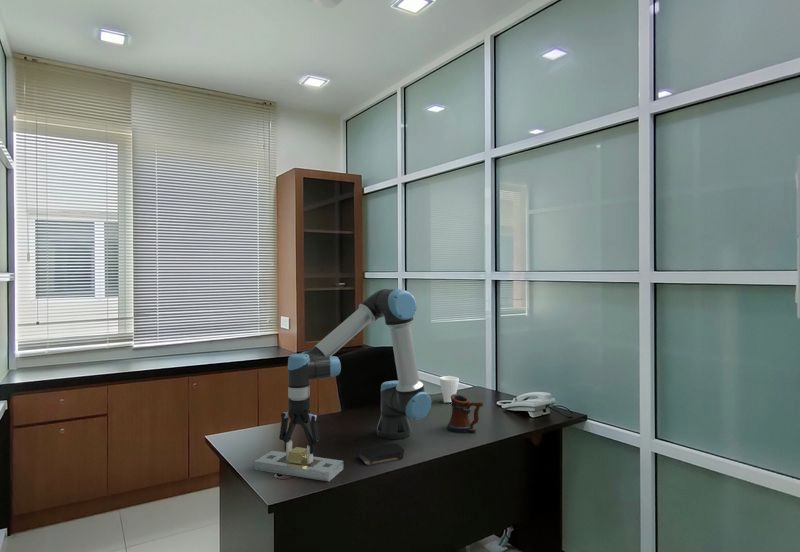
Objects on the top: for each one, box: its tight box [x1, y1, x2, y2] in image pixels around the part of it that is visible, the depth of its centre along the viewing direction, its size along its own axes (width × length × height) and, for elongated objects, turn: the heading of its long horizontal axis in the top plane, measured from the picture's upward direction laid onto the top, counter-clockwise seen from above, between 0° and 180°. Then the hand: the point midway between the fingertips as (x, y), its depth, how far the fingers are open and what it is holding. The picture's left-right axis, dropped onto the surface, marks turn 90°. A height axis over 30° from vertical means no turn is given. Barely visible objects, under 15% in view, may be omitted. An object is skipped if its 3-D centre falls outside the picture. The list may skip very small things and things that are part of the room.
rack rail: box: [253, 450, 344, 482], centre depth 172 cm, size 30×11×3 cm, turn 71°
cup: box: [439, 375, 460, 403], centre depth 263 cm, size 10×10×14 cm
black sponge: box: [359, 443, 405, 466], centre depth 182 cm, size 16×8×4 cm, turn 115°
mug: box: [447, 393, 484, 434], centre depth 216 cm, size 18×12×15 cm, turn 45°
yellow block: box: [289, 446, 308, 466], centre depth 172 cm, size 5×5×7 cm
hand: (299, 460), depth 172 cm, fingers open, 8 cm apart
